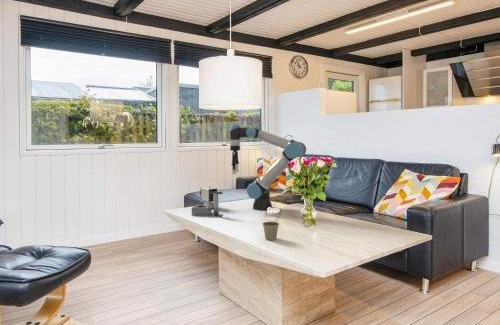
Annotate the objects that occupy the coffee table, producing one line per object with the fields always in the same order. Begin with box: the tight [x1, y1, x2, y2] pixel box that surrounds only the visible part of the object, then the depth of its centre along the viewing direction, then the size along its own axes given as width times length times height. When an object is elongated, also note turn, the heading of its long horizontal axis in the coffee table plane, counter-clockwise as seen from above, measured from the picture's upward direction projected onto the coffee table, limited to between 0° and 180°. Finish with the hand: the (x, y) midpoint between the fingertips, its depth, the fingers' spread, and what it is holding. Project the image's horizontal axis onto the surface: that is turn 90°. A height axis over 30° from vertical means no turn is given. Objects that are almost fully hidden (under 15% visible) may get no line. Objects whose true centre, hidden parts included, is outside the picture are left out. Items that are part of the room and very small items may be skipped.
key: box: [209, 191, 223, 216], centre depth 261 cm, size 4×10×17 cm, turn 85°
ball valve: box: [199, 185, 218, 210], centre depth 289 cm, size 18×8×18 cm, turn 37°
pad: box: [208, 213, 224, 218], centre depth 262 cm, size 9×9×1 cm
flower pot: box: [262, 221, 280, 241], centre depth 203 cm, size 9×9×9 cm
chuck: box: [191, 204, 212, 217], centre depth 269 cm, size 12×12×6 cm
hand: (235, 173), depth 278 cm, fingers open, 13 cm apart
